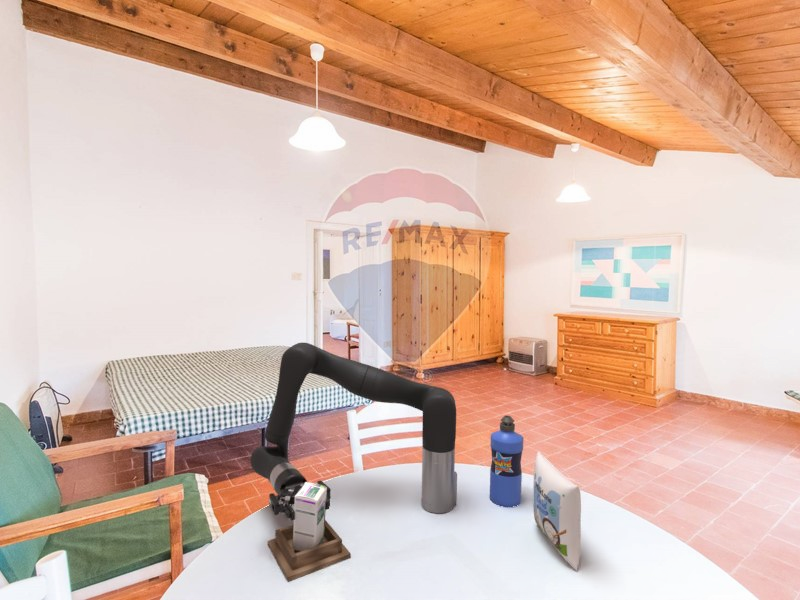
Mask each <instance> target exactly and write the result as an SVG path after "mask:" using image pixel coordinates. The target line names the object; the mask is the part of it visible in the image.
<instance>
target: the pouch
mask: <svg viewBox="0 0 800 600" xmlns="http://www.w3.org/2000/svg"><path fill="white" fill-rule="evenodd" d="M533 472H534V473H533V498H532V499H533V500H532V501H533V516H534V517H533V518H534V522H535V524H536V525H537V527H538V528H539V529H540V531H542V532H543V534H544V535H545V536H546V538H548V540H549V541H550V543H551V544H552V546H553V547H554V548H555V549H556V550H557V551H558V553H559V554H560V555H561V557H563V559H564V560H565V561H566V563H568V565H570V566H571V567H572V568H573V569H574V570H575V572H578V568H579V565H580V564H579V563H580V555H581V538H582V537H581V535H582V534H581V532H582V531H581V529H582V527H581V524H582V523H581V521H582V520H581V517H582V516H581V513H582V497H581V489H580V488H579V485H577V484H575V483H574V482H573V481H571V480H570V479H569V478H567V476H565V475H564V474H563V473H562V472H561V471H560V470H559V469H558V468H557V467H556V466H555V465H553V463H552V462H551V461H549V459H547V458H546V457H545V455H543V454H542V453H541V452H540V451H537V454H536V457H535V462H534V471H533Z"/></svg>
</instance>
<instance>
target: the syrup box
mask: <svg viewBox="0 0 800 600" xmlns="http://www.w3.org/2000/svg"><path fill="white" fill-rule="evenodd" d="M326 495H327V487H325V486H322V485H319V484H317V483H314V482H309V481H307V482H305V484H304V485H303V486H302V488H301V489H300V490H299V491H298V493H297V494H296V495H295V503H294V505H293V507H294V508H293V510H294V512H295V519H294V520H293V524H294V527H293V550H296V551H299V552H301V551H304V550H307V549H310V548H313V547H315V546H318V545H321V543H322V541H323V540H324V531H325V520H326V513H327V512H326V511H327V510H326Z"/></svg>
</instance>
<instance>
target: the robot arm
mask: <svg viewBox="0 0 800 600" xmlns="http://www.w3.org/2000/svg"><path fill="white" fill-rule="evenodd" d="M278 374H279V375H278V381H277V382H278V383H277V389H276V393H275V398H274V401H273V405H272V408H271V411H270V413H269V414H270V415H269V419H268V421H267V425H266V428H265V430H264V439H265V441H267V443H268V442H269V443H270V444H273V445H275V446H267V445H266V446H263V445H262V446H258V447H256V448H255V449H254V450H253V451H252V452H251V455H250V458H249V459H250V462H249V463H250V466H251V468H252V469H253V471H254V473H256V474H257V475H259V476H261V477H262V478H264V479H267V480H268V481H269V483H270V484H271V487H272V489H273V490H274V491H275V493H276V494H277V495H275V493H274V492H273V493H269V494H268V498H269V499H268V500H269V501H268V503H269V504H268V505H269V508H270V509H271V511H272V514H273V515H274V516H278V515H280V513H281V514H283V515H284V517H286V519H288V520H290V521H294V519H295V512H294V508H293V507H294V503H295V495H296V494H297V493H298V491H299V490H300V489H301V488H302V486H303V485H304V484H305V482H308V480H307V479H306V477H305V476H304V475H303V474H302V473H301V472H300V471H299V470H298V468H297V467H296V466H295V465H293V464H292V463H291V462H290V461H289V439H290V436H291V431H292V429H293V426H294V422H295V417H296V411H297V401H298V395H299V393H300V390H301V387H302V386H303V383H304V381H305V379H306V377H307V375H309V374H311V375H316V376H320V377H324V378H327V379H329V380H331V381H334V382H335V383H336V384H337V385H339V386H340V387H341V388H343V389H345V390H346V391H348V392H349V393H350V394H353V395H354V396H357V397H360V398H363V399H367V400H369V401H372V402H377V403H384V404H385V403H387V404H400V405H405V406H408V407H411V408H414V409H417V410H418V411H422V431H421V432H422V433H421V435H422V436H421V437H422V440H421V441H422V443H421V444H422V450H421V451H422V454H421V455H422V457H421V460H422V461H421V506H422V509H424V510H425V511H427V512H430V513H434V514H443V513H444V514H445V513H449V512H450V511H452V510H453V509H454V507H456V506H457V500H458V499H457V495H458V494H457V493H458V492H457V489H458V488H457V486H458V472H456V471H455V463H456V462H455V461H456V460H455V459H456V457H455V455H456V439H457V438H456V437H457V432H456V431H457V405H456V400H455V398H454V396H453V394H452V393H451V392H450V391H449V390H447V389H445V388H443V387H440V386H439V387H438V386H435V385H430V384H426V383H421V382H417V381H413V380H410V379H407V378H406V377H403V376H400V375H398V374H394V373H392V372H390V371H387V370H385V369H381V368H378V367H375V366H373V365H369V364H366V363H364V362H363V363H362V362H360V361H357V360H353V359H350V358H345V357H342V356H339V355H336V354H334V353H332V352H329V351H327V350H325V349H323V348H320V347H318V346H316V345H314V344H311V343H308V342H298V343H295V344H293V345H292V346H290V347H288V348H287V349H286V350H285V351H284V352H283V354H282V356H281V359H280V366H279V373H278ZM316 484H319V485H322V486H325V487H327V495H326V511H327V510H330V507H331V498H332V497H331V488H330V487H329V486H328V485H327V484H326V483H324V481H322V480H317V481H316ZM280 502H282V503H280Z"/></svg>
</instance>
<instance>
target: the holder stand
mask: <svg viewBox="0 0 800 600" xmlns="http://www.w3.org/2000/svg"><path fill="white" fill-rule="evenodd" d="M293 527H294V523H293V524H291V525H288V526H284V527H281V528H278V529H275V538H273V539H270V540H267V546H268V549H269V550H270V552H271V553H272V556H273V557H274V559H275V560H276V562H277V564H278V566H279V568H280V570H281V572H282V573H283V575H284V577H285V578H286V581H287V583H288V582H291V581H293V580H296V579H298V578H301V577H305V576H307V575H310V574H311V573H315V572H317V571H320V570H322V569H325V568H327V567H330V566H332V565H334V564H338V563H341V562H343V561H345V560H348V559H351V557H352V554H351V552H350V551H349V549H348V548H347V547H346V546H345V545H344V544H343V539H342V538H341V537H340V536H339V534H338V533H337V532H336V531H335V530H334V528H333V527H332V526H331V524H329V522H328V521H327V520H326V519H325V531H324V540H323V541H322V543H321V545H318V546H315V547H313V548H310V549H307V550H304V551H301V552H299V551H296V550H293Z"/></svg>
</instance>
